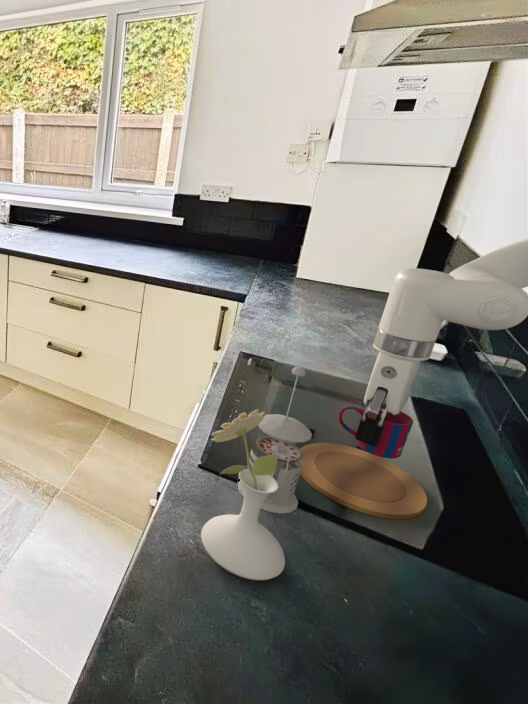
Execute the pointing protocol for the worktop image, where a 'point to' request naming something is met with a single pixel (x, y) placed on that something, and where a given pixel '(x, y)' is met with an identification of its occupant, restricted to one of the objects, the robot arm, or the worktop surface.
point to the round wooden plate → (362, 481)
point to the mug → (385, 433)
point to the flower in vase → (246, 514)
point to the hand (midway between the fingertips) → (371, 433)
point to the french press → (281, 455)
